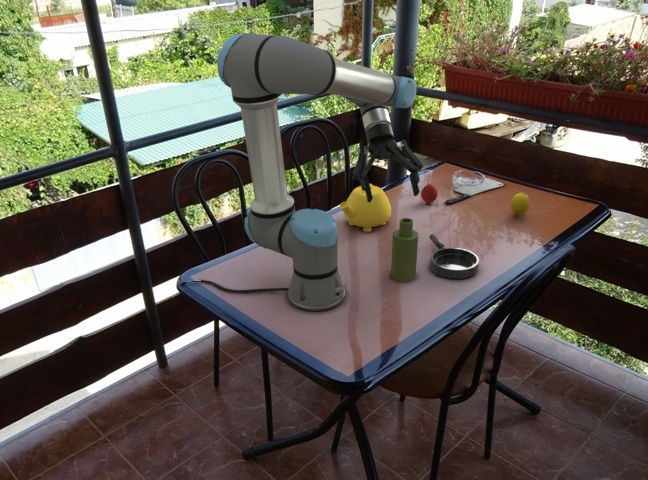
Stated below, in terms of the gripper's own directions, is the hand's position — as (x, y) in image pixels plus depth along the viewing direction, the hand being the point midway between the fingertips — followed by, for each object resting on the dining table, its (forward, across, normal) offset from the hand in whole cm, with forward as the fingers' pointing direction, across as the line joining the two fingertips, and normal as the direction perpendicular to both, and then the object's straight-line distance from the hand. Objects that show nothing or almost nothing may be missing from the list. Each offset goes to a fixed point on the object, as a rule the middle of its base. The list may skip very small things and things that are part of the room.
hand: (393, 197), depth 156 cm
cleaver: (-15, -44, -42) cm, 63 cm away
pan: (+21, -15, -6) cm, 27 cm away
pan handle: (+12, -15, -13) cm, 23 cm away
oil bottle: (+21, 0, -6) cm, 22 cm away
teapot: (-3, +2, -31) cm, 31 cm away
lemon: (+2, -50, -26) cm, 56 cm away
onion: (-10, -26, -38) cm, 47 cm away
